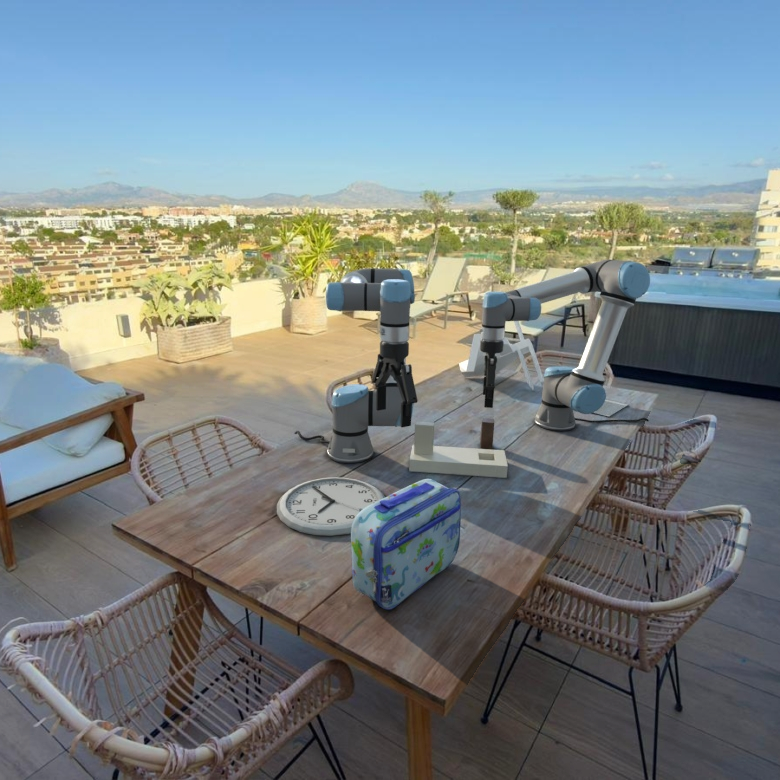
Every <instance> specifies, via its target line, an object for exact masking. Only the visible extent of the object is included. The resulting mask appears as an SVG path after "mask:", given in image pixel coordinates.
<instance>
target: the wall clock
mask: <svg viewBox="0 0 780 780" xmlns="http://www.w3.org/2000/svg"><path fill="white" fill-rule="evenodd" d="M385 497H386V496H385V494H384V493H383V492H382V491H381V490H380V489H379V488H377V487H376V486H374V485H372V484H371V483H369V482H365V481H362V480H359V479H355V478H349V477H338V476H337V477H335V476H333V477H332V476H331V477H322V478H317V479H312V480H307V481H305V482H302V483H299V484H297V485H295V486H293V487H292V488H290V489H288V490H287V491H286V492H285V493H284V494H283V495H281V496H280V498H279V499H278V502H277V503H276V515H277V517H278V518H279V520H280V521H281V522H282V523H283V524H285V525H286V526H287V527H288V528H290V529H293V530H295V531H297V532H299V533H303V534H308V535H312V536H327V537H328V536H329V537H331V536H332V537H333V536H342V535H350V534H351V529H352V524H353V521H354V519H355V517H356V516H357V514H358V513H359V512H360V511H361V510H362V509H364V508H366V507H367V506H369V505H371V504H374V503H375V502H377V501H379V500H381V499H383V498H385Z"/></svg>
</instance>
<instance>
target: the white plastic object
mask: <svg viewBox="0 0 780 780" xmlns="http://www.w3.org/2000/svg"><path fill="white" fill-rule="evenodd" d="M513 323H514V325H515V329H516V332H517V334H518V338H519V341H518V342H515V343H511V342H510V341H509V339H508V337H504V339H503V342H504V344H503V351H502V352H501V353H496V354H495V356H497V363H496V370H495V376H496V375H499V374H501V371H502V370H504V369H505V368H506V367H508V366H509V365H510V364H513V362H515V361H516V360H517V359H519V361H520V364H521V368H522V370H523V373H524V376H525V380H526V384H527V385H528V386H529V388H530V389H531V391H534V390H535V389H534V383H533V380H532V378H531V374H530V371H529V368H528V364H527V361H526V358H525V355H526V354H529V353H530V355H531V356H530V357H531V359H532V362H533V366H534V367H535V371H536V374H537V377H538V379H539V383H540V384H541V386H542V387H543V382H544V374H543V371H542V369H541V366H540V363H539V360H538V357H537V353H536V351H535V349H534V345H533V343H532V341H531V339H530V338H529V337H528V338H525V336H524V334H523V331H522V327H521V324H520V321H513ZM481 340H482V338H481V333H474V334H473V337H472V342H471V347H470V350H469V351H470V352H469V355H468V359H466V360H464V361H462V362H459V363H458V366H459V370H460V373H461V375H462V377H464V378H473V377H482V376H484V370H485V360H484V357H485V356H486V353H485V352H482V351H481V350H480V341H481Z"/></svg>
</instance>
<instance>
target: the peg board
mask: <svg viewBox="0 0 780 780" xmlns="http://www.w3.org/2000/svg"><path fill="white" fill-rule="evenodd" d="M413 439H414V440H413V441H414V443H413V444H412V447H411V451H410V456H409V465H408V466H409V469H408V470H409V472H414V473H415V472H416V473H427V474H428V473H429V474H430V473H431V474H442V475H443V474H445V475H446V474H447V475H458V476H472V477H473V476H474V477H485V478H486V477H488V478H502V479H507V478H508V469H509V468H508V467H509V465H508V461H507V457H506V451H505V449H492V450H491V449H480V448H474V447H460V446H459V447H457V446H444V445H443V446H441V445H434V440H435V421H433V422H432V421H417V420H416V421H415V422H414V438H413Z"/></svg>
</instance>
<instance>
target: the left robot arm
mask: <svg viewBox="0 0 780 780" xmlns="http://www.w3.org/2000/svg"><path fill="white" fill-rule="evenodd" d="M414 283H415V282H414V278H413V273H412V271H410V270H409V269H405V268H399V267H397V268H371V267H370V268H369V267H366V268H365V267H364V268H360V269H356V270H352V271H350V272H348V273H346V274H344V275H343V276H342V277H341V279H340V281H336V282H328V283H327V284H326V288H325V304H326V305H325V306H326V308H327V309H328V310H329V311H334V312H335V311H337V312H345V311H346V312H380V321H379V324H380V325H379V332H378V333H379V353H378V354H377V357H376V358H377V359H376V360H377V361H376V365H375V368H374V370H373V371H374V372H373V375H372V378H371V383H372V384H374V390H370V389H369V387H368V386H367V385H366V384H361V383H353V384H347V385H343V386H340V387H338V388H337V389H335V390H334V391H333V393H332V397H331V398H332V399H331V407H332V409H331V410H332V412H331V413H332V434H331V437H330V440H325V436H324V435H320V434H318V435H313V436H309V437H304V436H303V435H302V433H301V432H300V430H296V431H294V435H298V437H299V438H300V439H301V440H303V441H312V440H315V439H319V442H320V443H321V444H328V447H327V457H328V458H329V459H330V460H332V461H333V462H337V463H339V464H358V463H359V464H360V463H363V462H366V461H368V460H370V459H371V458H372V457H374V446H373V445H372V440H371V437H370V434H369V427H395V428H397V427H400V428H408V427H411V426H412V417H413V413H414V412H413V411H414V404H417V403H418V395H417V391H416V386H415V382H414V377H413V367H412V364H411V363H409V364H407V357H408V356H409V354H410V343H409V340H410V315H411V314H410V313H411V305H413V304H414V303H415V302H416V301H415V300H416V295H415V284H414Z"/></svg>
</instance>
